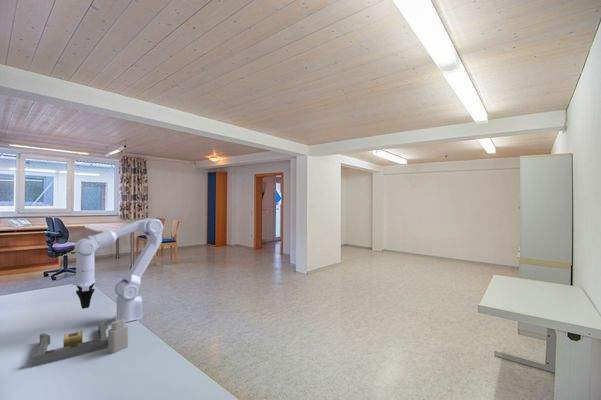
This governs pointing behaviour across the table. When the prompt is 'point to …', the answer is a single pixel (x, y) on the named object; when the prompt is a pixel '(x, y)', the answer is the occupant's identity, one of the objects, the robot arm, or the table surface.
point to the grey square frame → (69, 348)
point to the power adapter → (117, 336)
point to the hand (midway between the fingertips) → (85, 305)
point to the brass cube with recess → (73, 338)
